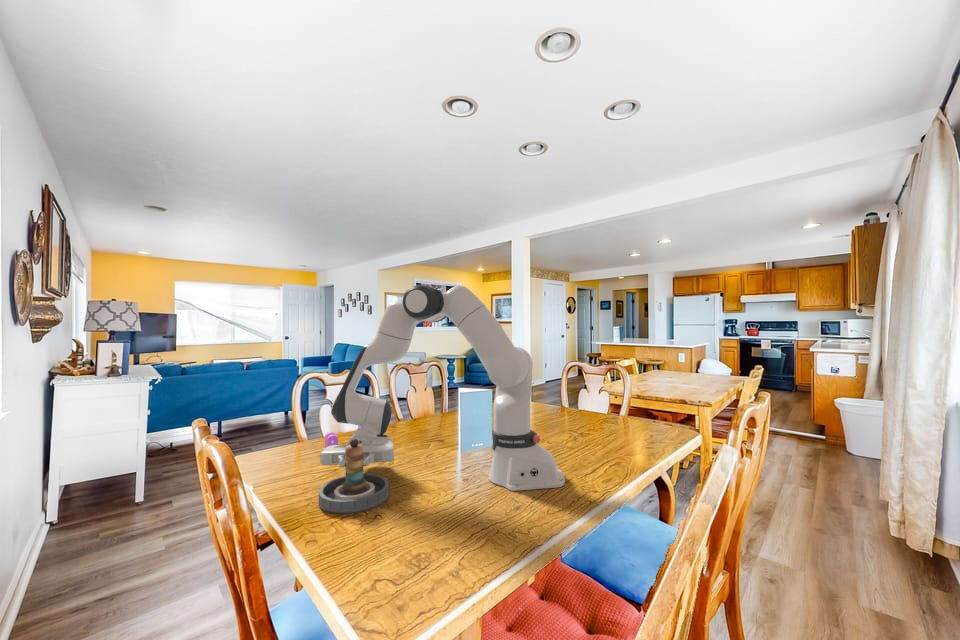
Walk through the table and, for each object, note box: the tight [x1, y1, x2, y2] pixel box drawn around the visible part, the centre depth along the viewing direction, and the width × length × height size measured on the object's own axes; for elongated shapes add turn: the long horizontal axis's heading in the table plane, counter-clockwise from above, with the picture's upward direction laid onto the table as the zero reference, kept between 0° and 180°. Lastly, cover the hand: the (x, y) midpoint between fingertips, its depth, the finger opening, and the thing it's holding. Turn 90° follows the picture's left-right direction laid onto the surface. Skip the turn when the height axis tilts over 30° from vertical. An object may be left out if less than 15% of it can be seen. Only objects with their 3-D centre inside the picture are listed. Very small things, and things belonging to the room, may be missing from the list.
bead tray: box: [318, 473, 390, 515], centre depth 106 cm, size 18×18×3 cm
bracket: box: [324, 431, 339, 449], centre depth 146 cm, size 13×6×7 cm, turn 119°
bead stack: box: [343, 439, 366, 492], centre depth 106 cm, size 6×6×13 cm
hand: (353, 463), depth 105 cm, fingers closed on bead stack, 5 cm apart
